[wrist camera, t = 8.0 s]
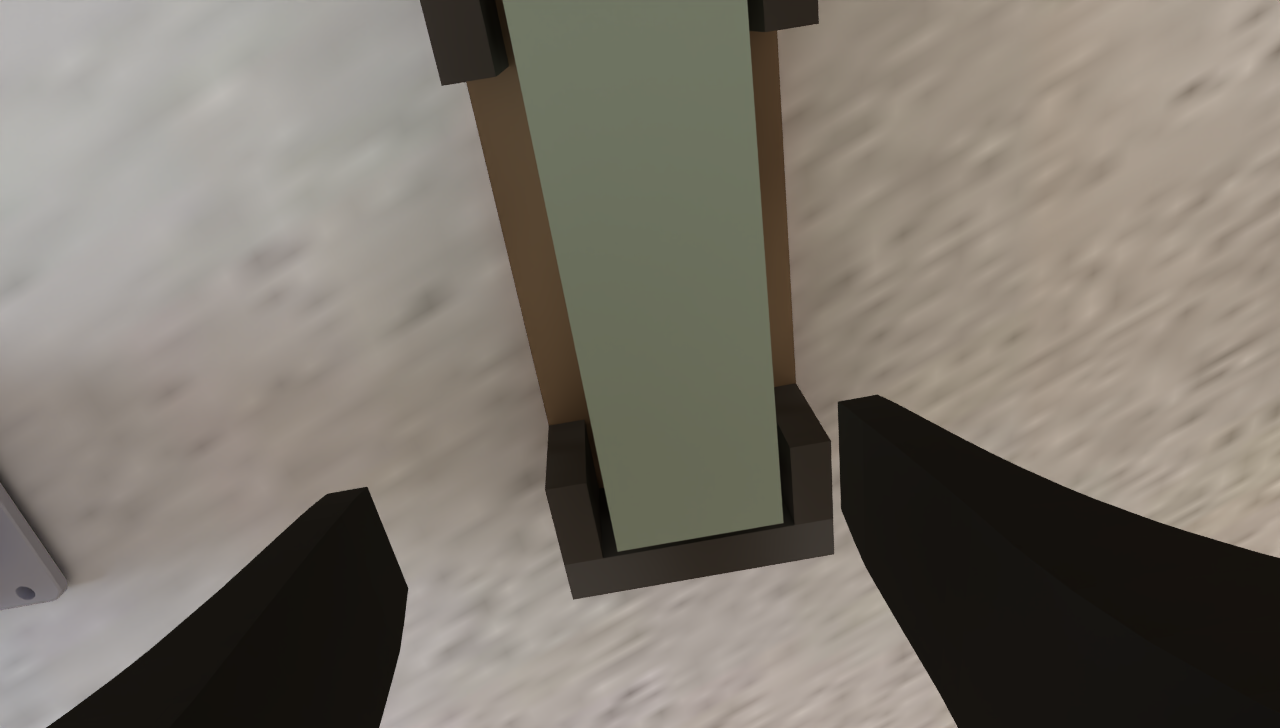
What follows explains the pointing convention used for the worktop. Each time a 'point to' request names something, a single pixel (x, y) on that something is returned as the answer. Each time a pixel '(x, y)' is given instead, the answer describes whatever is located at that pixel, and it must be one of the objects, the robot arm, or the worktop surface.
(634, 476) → the stone
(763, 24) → the end cap cradle
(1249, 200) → the worktop surface
